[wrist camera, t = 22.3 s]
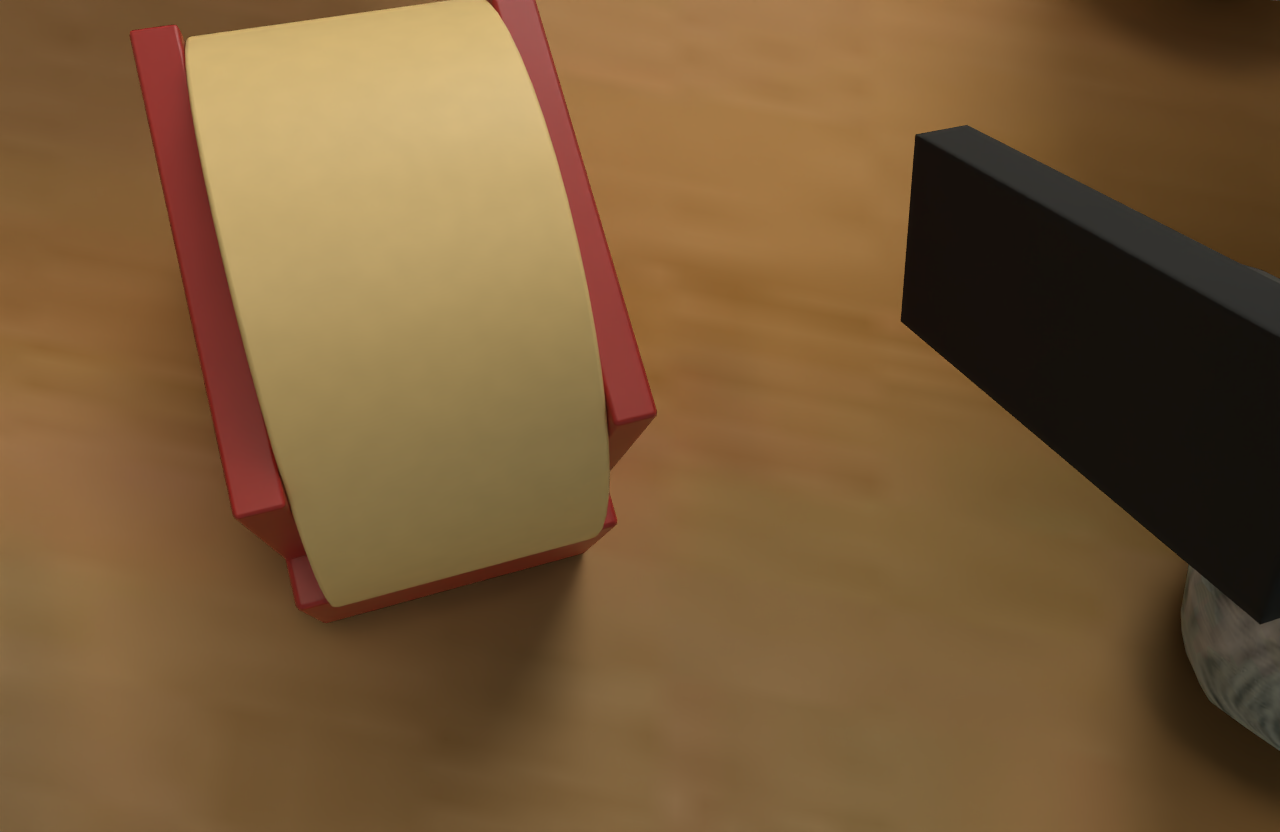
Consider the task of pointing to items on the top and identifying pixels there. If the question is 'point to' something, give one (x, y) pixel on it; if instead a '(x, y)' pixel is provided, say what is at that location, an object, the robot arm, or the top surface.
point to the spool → (1233, 657)
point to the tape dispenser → (396, 294)
